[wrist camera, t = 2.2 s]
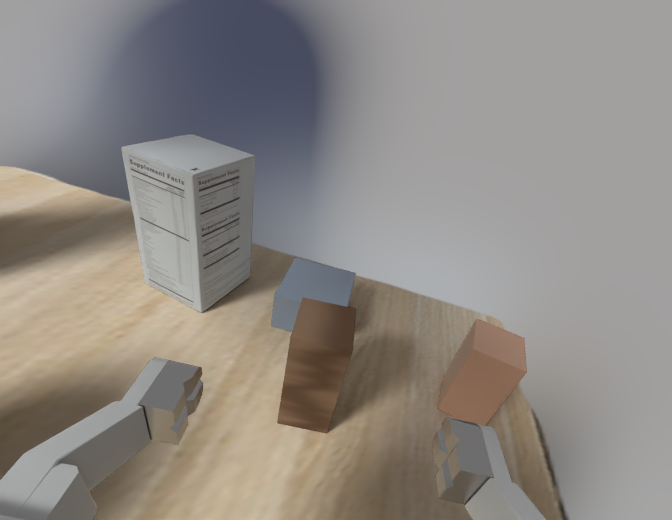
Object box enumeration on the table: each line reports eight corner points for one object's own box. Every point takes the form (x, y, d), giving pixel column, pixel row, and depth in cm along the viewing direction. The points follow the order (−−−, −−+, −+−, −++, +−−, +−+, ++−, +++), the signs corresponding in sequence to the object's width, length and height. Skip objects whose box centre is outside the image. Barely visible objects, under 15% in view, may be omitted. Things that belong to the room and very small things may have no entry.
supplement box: (252, 277, 46) (259, 155, 37) (202, 315, 39) (195, 175, 29) (198, 251, 48) (192, 131, 39) (141, 282, 41) (117, 144, 32)
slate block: (271, 327, 39) (274, 295, 37) (291, 287, 46) (295, 257, 43) (337, 345, 39) (345, 314, 36) (347, 302, 46) (355, 273, 43)
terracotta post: (437, 408, 34) (472, 348, 29) (443, 376, 38) (476, 318, 33) (481, 430, 33) (526, 372, 28) (483, 395, 37) (524, 338, 32)
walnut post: (277, 423, 30) (290, 337, 24) (288, 380, 34) (302, 297, 28) (326, 433, 30) (352, 350, 24) (332, 389, 34) (356, 308, 28)
